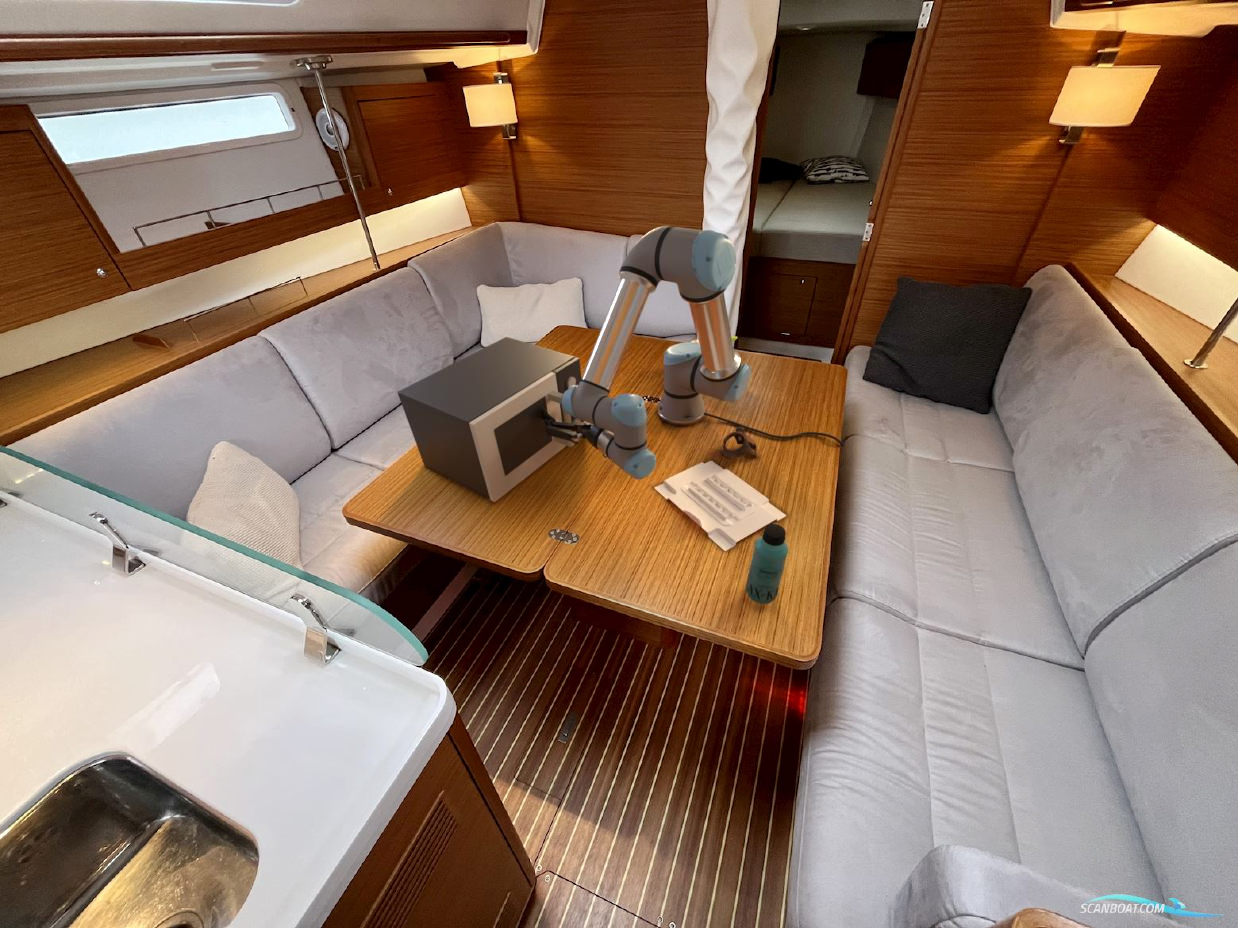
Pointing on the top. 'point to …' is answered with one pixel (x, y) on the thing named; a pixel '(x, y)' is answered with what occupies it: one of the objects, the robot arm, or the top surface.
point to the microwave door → (518, 435)
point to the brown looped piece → (740, 439)
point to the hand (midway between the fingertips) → (564, 405)
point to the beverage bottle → (767, 565)
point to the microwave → (476, 402)
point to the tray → (719, 503)
